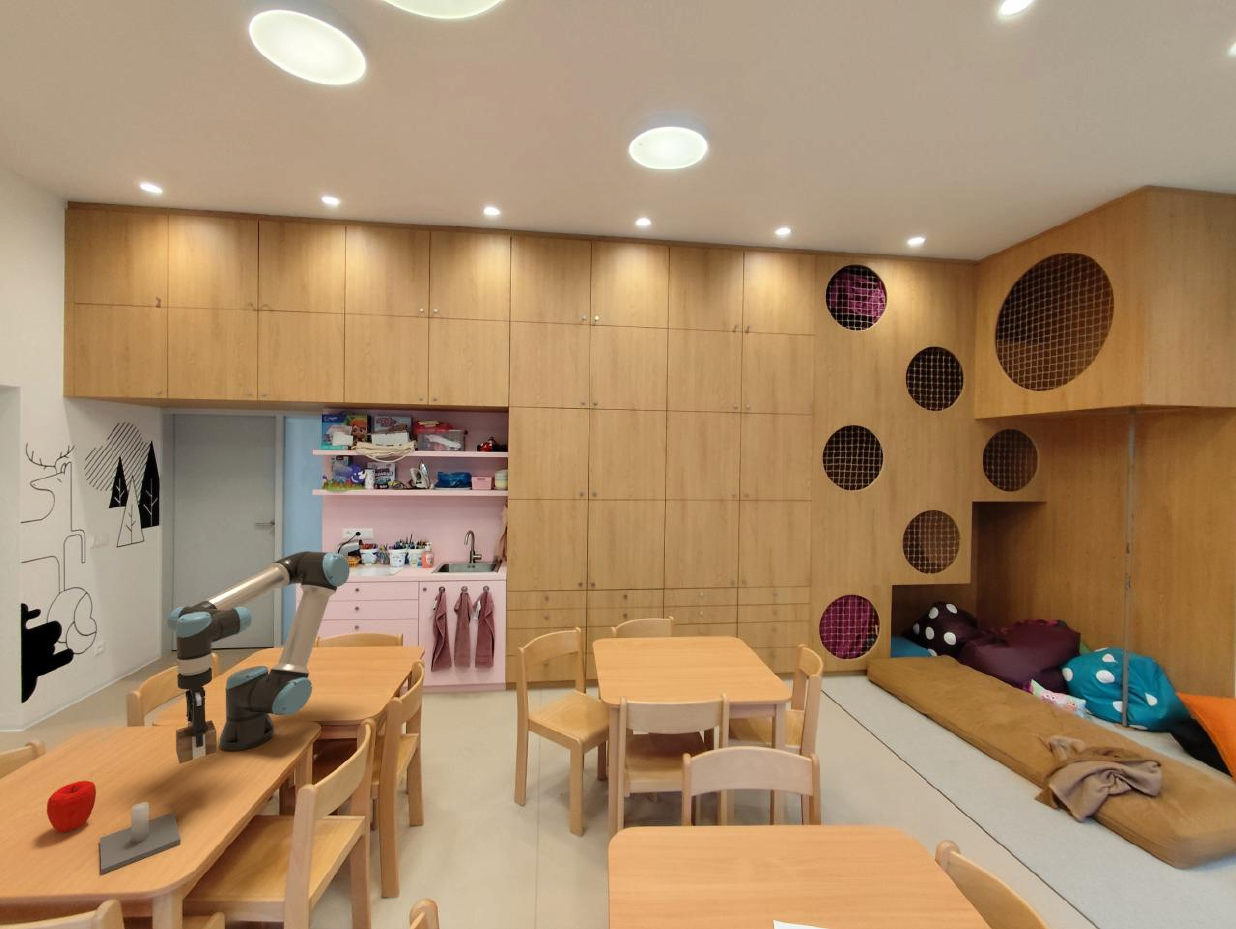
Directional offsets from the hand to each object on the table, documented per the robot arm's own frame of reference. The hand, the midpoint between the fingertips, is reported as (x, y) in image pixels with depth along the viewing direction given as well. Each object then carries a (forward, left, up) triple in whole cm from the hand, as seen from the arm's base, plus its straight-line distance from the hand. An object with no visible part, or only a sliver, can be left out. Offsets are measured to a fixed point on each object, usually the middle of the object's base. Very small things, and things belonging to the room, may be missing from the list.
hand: (196, 750), depth 149 cm
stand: (+12, +12, -13) cm, 22 cm away
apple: (+24, -7, -14) cm, 29 cm away
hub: (0, 0, 0) cm, 0 cm away
